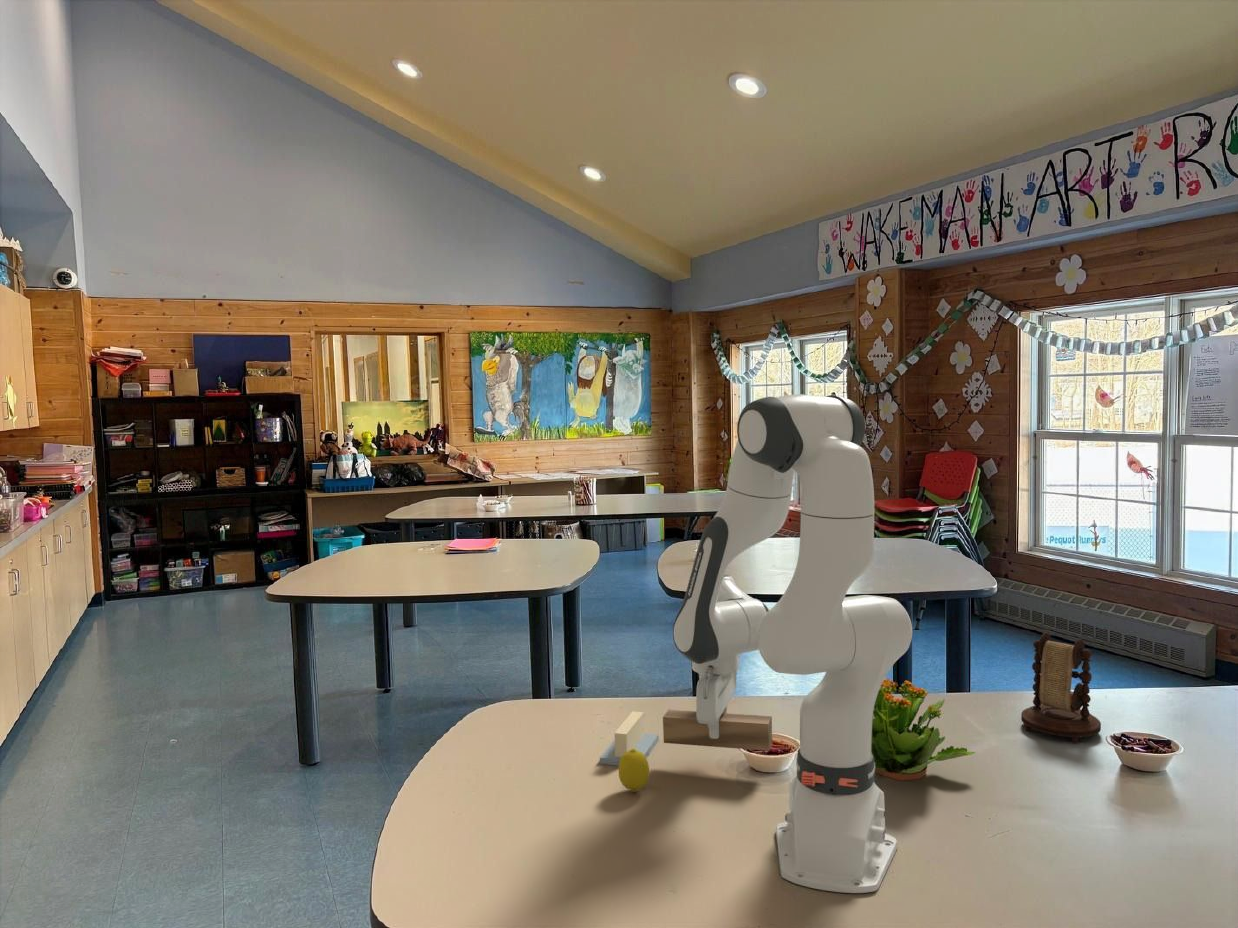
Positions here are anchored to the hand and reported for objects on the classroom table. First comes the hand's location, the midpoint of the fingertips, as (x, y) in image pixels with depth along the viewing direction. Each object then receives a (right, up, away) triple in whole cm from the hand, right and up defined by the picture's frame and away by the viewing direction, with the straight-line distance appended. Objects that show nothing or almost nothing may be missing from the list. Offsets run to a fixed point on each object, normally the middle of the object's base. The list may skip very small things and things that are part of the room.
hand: (717, 731), depth 170 cm
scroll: (+73, -5, +16) cm, 75 cm away
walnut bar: (0, -2, 0) cm, 2 cm away
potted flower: (+34, -7, -2) cm, 35 cm away
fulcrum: (-16, -7, +10) cm, 20 cm away
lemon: (-16, -9, -8) cm, 20 cm away
